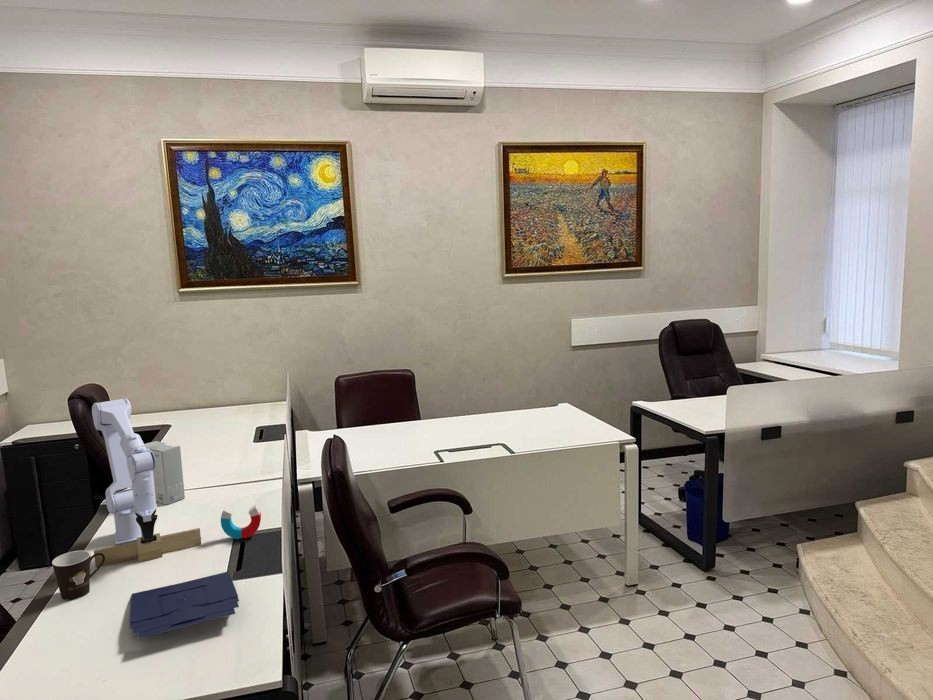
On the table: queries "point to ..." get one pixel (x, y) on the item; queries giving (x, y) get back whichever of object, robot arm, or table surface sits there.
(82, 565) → the coffee mug
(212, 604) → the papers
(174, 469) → the hard drive box
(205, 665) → the table surface
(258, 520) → the magnet
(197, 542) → the tan wooden bar
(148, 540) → the pin
